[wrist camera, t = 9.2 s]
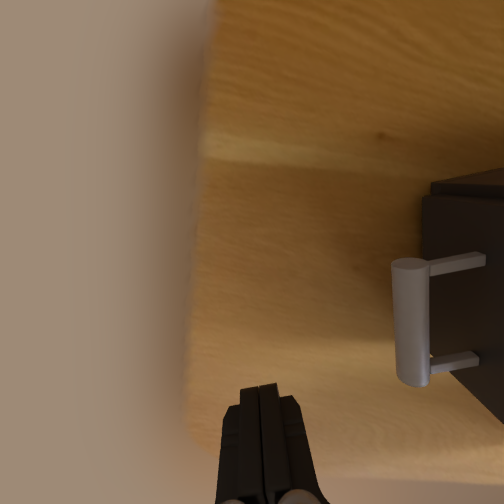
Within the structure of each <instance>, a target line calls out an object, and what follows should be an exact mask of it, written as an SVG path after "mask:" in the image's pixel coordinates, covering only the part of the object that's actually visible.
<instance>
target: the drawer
mask: <svg viewBox="0 0 504 504" xmlns="http://www.w3.org/2000/svg"><path fill="white" fill-rule="evenodd" d="M422 246H423V259H420V258H400V259H396V260H394V261H393V262H392V263H391V275H392V295H393V314H394V334H395V353H396V373H397V376H398V378H399V379H400V380H401V381H402V382H403V383H405V384H407V385H409V386H412V387H424V386H426V385H427V384H428V383H429V381H430V374H435V373H440V372H446V371H449V372H450V373H451V374H452V375H453V376H454V377H455V378H456V379H457V380H458V381H459V382H460V383H461V384H462V385H463V386H465V387H466V388H467V389H468V390H469V391H470V392H471V393H472V394H473V395H474V396H475V397H476V398H477V399H478V400H479V401H480V402H481V403H482V404H483V405H484V406H485V407H486V408H487V409H488V410H489V411H490V412H491V413H492V414H494V415H495V416H496V417H497V418H498V419H499V420H500V421H501V422H502V423H503V424H504V198H492V197H481V196H469V195H457V194H446V193H438V194H433V195H429V196H424V197H422ZM430 354H431V355H432V356H433V358H430Z"/></svg>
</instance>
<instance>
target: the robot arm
mask: <svg viewBox="0 0 504 504" xmlns="http://www.w3.org/2000/svg"><path fill="white" fill-rule="evenodd" d="M215 504H330V503H329V502H328V501H327V500H326V499H325V497H324V496H323V494H322V492H321V490H320V488H319V486H318V482H317V478H316V474H315V470H314V465H313V461H312V457H311V452H310V448H309V444H308V439H307V435H306V431H305V426H304V422H303V418H302V413H301V409H300V406H299V404H298V403H297V401H296V400H295V399H294V397H293V396H292V395H290V396H285V397H280V396H279V391H278V387H277V383H273V384H267V385H261V386H259V387H258V386H256V387H250V388H245V389H241V390H240V404H239V405H233V406H229V408H228V410H227V412H226V414H225V416H224V419H223V426H222V437H221V449H220V459H219V470H218V480H217V491H216V500H215Z"/></svg>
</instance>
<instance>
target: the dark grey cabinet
mask: <svg viewBox="0 0 504 504" xmlns="http://www.w3.org/2000/svg"><path fill="white" fill-rule="evenodd" d="M438 193H446V194H457V195H469V196H481V197H492V198H504V168H499V169H494V170H490V171H485V172H480V173H475V174H470V175H466V176H461V177H456V178H451V179H447V180H442V181H437V182H432V183H431V195H433V194H438Z"/></svg>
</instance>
